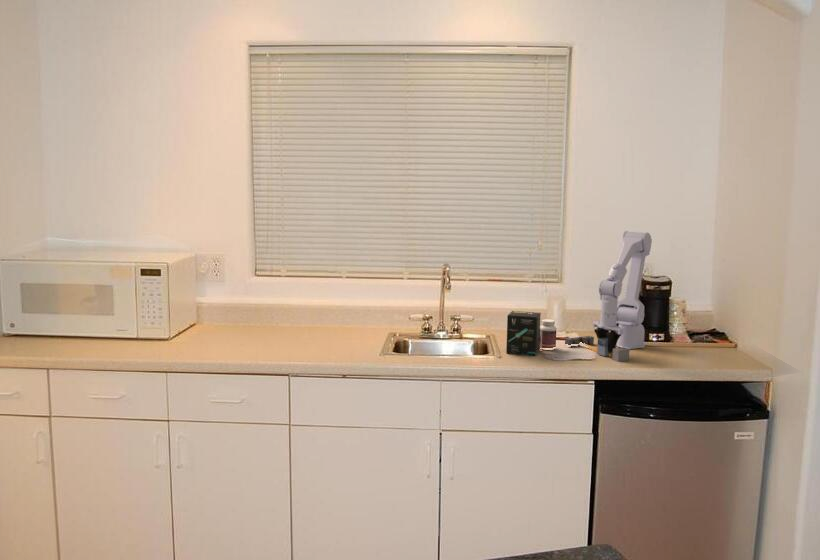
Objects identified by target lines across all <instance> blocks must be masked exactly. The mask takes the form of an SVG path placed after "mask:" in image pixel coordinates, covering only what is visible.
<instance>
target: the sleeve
mask: <svg viewBox="0 0 820 560" xmlns="http://www.w3.org/2000/svg"><path fill="white" fill-rule="evenodd" d="M617 343H618V342H617ZM617 343H616V346H615V348H617ZM596 348H597V352H596V353H597V355H600V356H603V357H609V356H608V352H610V353H613V351H608V340H607V337H606V338H597V346H596Z"/></svg>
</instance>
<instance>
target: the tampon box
mask: <svg viewBox="0 0 820 560" xmlns="http://www.w3.org/2000/svg"><path fill="white" fill-rule="evenodd" d="M506 325H507V326H506V330H507V331H506V348H505V349H506V351H505V352H506V354H507V355H520V356H521V355H522V356H531V357H532V356H533V357H536V355H538V352H539V351H540V350H541V349H540V327H541V312H535V311H522V310H521V311H519V310H512V311H511V312H509V313H508V314H507V322H506Z"/></svg>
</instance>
